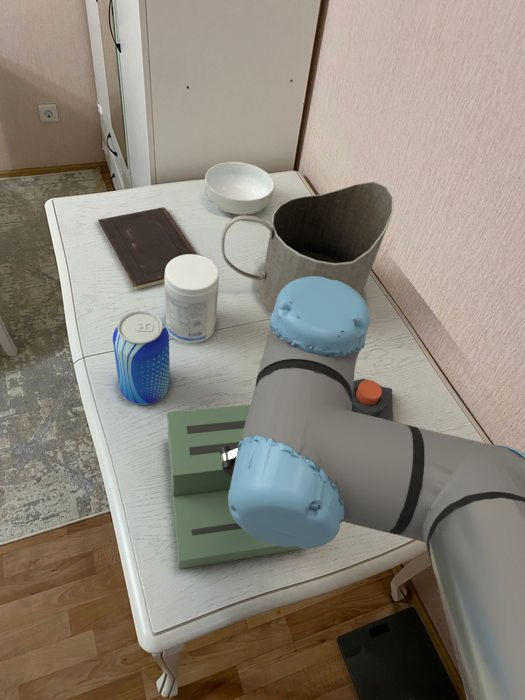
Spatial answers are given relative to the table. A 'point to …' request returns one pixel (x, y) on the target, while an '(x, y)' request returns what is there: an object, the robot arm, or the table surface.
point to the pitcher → (322, 238)
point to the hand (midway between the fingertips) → (259, 513)
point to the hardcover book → (145, 244)
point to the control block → (378, 410)
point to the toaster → (208, 488)
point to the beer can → (142, 357)
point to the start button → (368, 392)
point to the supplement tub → (191, 297)
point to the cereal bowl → (239, 187)
